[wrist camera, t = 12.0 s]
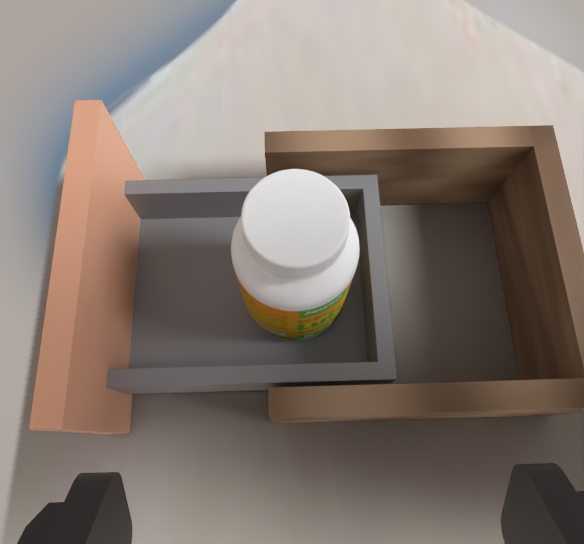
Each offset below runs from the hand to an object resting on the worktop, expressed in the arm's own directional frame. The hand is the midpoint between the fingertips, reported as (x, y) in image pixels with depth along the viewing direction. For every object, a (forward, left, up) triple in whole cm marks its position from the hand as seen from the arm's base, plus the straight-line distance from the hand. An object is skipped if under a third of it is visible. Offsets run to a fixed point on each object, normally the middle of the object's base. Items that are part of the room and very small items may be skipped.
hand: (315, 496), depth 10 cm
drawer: (-1, -9, -16) cm, 18 cm away
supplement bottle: (-3, -8, -15) cm, 17 cm away
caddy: (-9, -6, -16) cm, 19 cm away
